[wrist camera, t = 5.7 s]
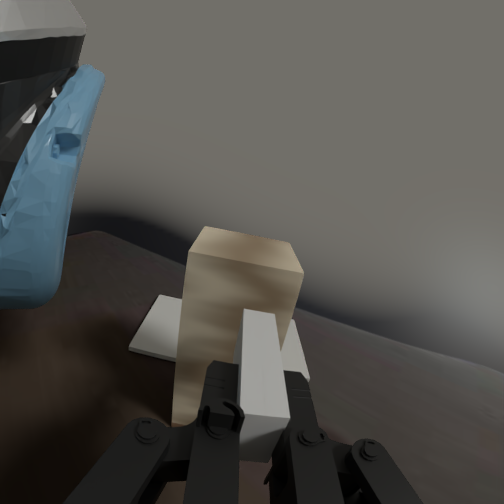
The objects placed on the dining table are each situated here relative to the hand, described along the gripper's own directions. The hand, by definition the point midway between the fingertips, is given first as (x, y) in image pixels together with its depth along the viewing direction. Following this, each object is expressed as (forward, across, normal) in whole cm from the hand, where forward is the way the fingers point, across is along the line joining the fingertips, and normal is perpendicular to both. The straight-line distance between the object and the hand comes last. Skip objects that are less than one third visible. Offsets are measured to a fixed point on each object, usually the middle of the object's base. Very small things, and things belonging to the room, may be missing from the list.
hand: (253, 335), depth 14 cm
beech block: (+5, -1, -11) cm, 12 cm away
